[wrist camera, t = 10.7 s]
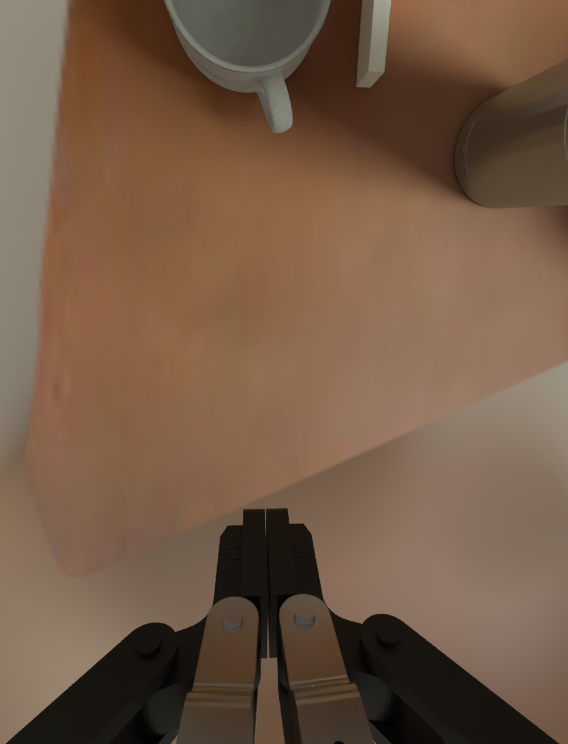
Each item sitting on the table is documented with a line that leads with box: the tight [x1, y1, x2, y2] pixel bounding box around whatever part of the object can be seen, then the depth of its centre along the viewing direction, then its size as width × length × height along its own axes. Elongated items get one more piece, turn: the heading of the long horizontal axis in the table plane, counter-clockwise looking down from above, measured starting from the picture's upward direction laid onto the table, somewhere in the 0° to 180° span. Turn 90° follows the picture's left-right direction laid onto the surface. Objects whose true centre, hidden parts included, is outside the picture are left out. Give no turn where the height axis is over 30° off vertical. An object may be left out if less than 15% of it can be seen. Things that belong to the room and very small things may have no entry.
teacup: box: [164, 0, 331, 133], centre depth 30 cm, size 14×11×8 cm
